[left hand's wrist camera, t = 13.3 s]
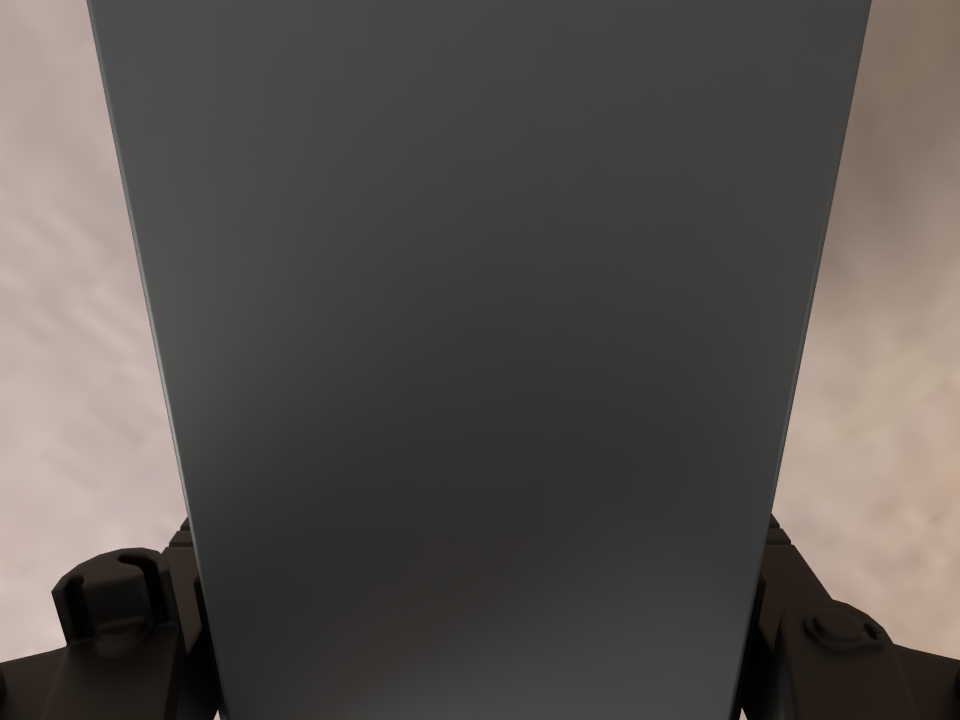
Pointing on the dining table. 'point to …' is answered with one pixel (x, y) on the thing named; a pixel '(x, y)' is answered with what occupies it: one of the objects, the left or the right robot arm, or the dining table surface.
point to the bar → (479, 333)
